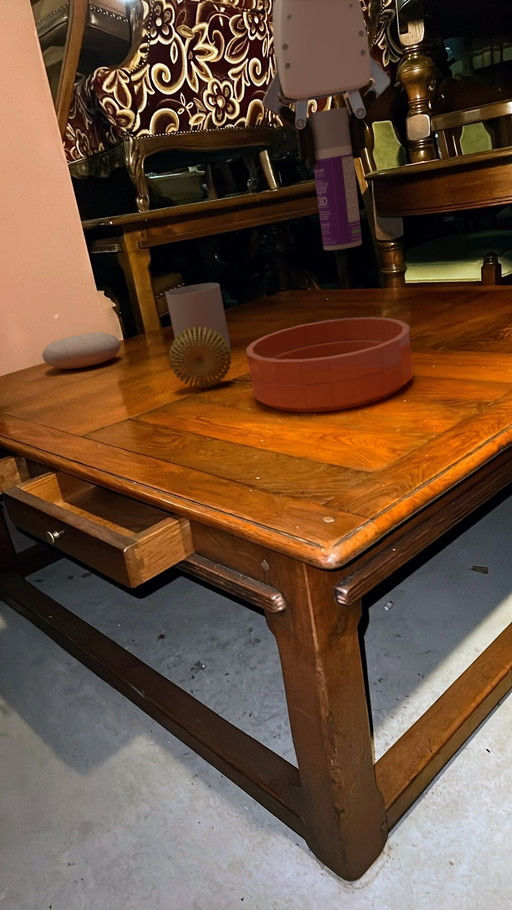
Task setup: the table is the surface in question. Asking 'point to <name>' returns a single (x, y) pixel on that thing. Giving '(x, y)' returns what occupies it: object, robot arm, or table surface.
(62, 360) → the decorative stone
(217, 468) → the table surface
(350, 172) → the container
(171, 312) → the cup
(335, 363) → the bowl
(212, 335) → the sculpture
